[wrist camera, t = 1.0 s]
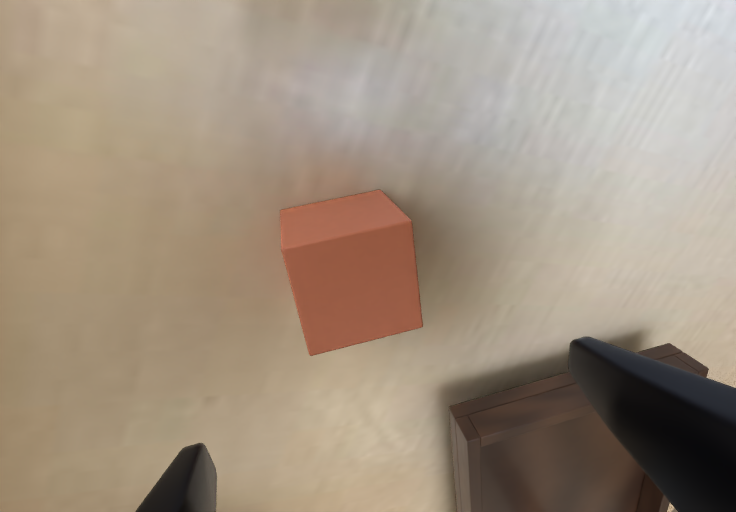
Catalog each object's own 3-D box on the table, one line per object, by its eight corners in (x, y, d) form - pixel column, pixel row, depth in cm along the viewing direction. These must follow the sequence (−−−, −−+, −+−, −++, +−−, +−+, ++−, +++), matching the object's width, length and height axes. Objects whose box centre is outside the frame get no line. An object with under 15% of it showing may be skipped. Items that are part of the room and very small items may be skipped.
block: (302, 298, 19) (309, 357, 15) (279, 209, 17) (280, 248, 13) (392, 277, 19) (423, 327, 15) (380, 188, 17) (412, 220, 13)
